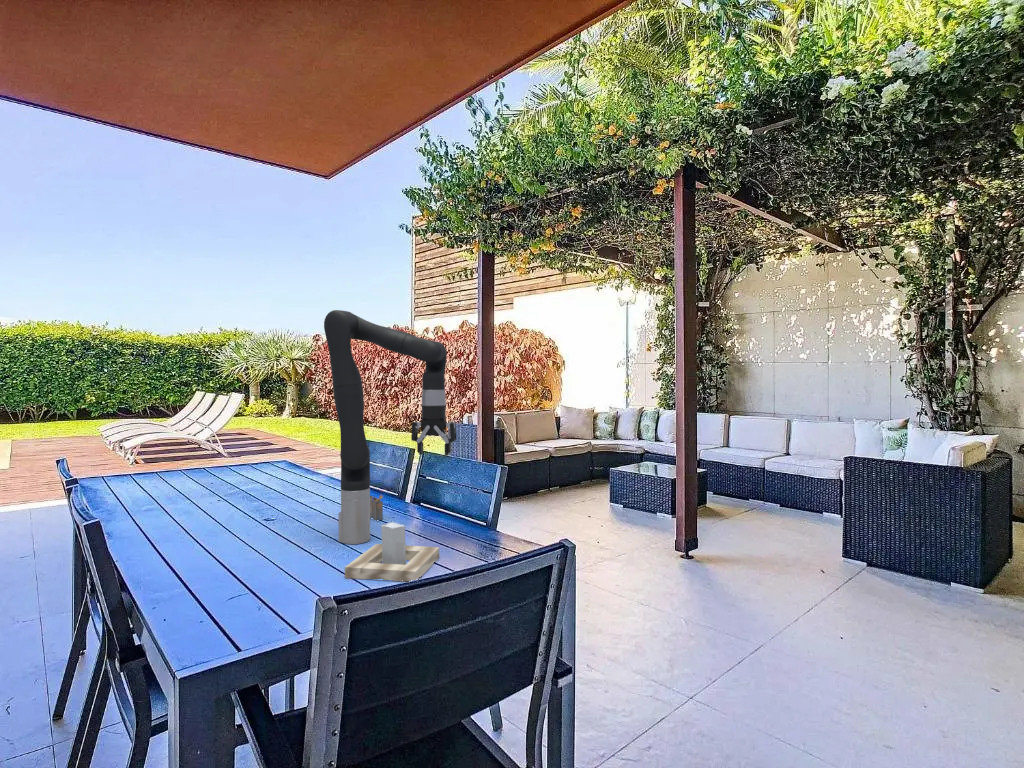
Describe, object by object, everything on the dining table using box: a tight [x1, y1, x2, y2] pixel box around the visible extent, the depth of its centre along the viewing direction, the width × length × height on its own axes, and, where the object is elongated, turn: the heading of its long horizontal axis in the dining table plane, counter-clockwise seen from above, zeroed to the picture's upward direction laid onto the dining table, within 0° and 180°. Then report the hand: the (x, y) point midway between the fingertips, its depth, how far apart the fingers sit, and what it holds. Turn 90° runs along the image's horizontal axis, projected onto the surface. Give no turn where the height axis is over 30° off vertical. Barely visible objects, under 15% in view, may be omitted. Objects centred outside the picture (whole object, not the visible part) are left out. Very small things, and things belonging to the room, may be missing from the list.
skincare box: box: [380, 522, 407, 565], centre depth 164 cm, size 6×4×12 cm
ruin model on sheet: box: [370, 494, 384, 522], centre depth 218 cm, size 11×3×10 cm, turn 33°
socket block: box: [344, 543, 440, 583], centre depth 164 cm, size 20×21×3 cm
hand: (434, 454), depth 183 cm, fingers open, 8 cm apart
